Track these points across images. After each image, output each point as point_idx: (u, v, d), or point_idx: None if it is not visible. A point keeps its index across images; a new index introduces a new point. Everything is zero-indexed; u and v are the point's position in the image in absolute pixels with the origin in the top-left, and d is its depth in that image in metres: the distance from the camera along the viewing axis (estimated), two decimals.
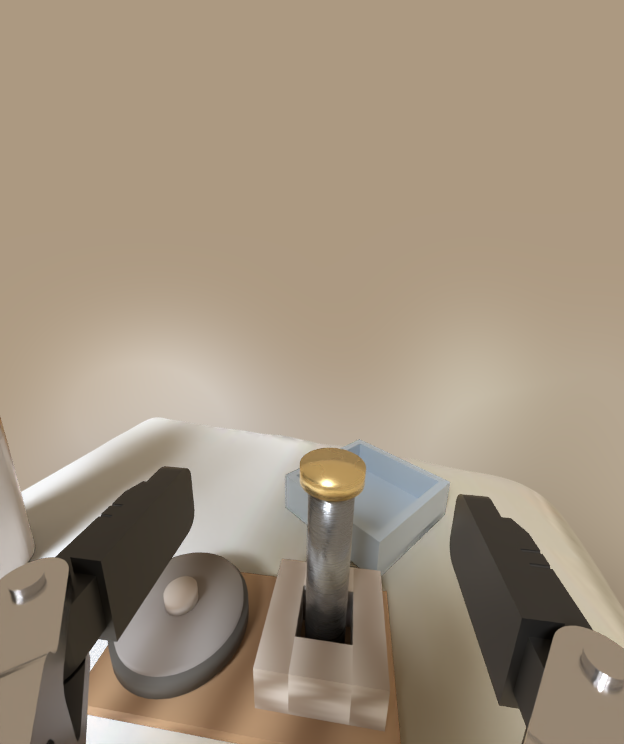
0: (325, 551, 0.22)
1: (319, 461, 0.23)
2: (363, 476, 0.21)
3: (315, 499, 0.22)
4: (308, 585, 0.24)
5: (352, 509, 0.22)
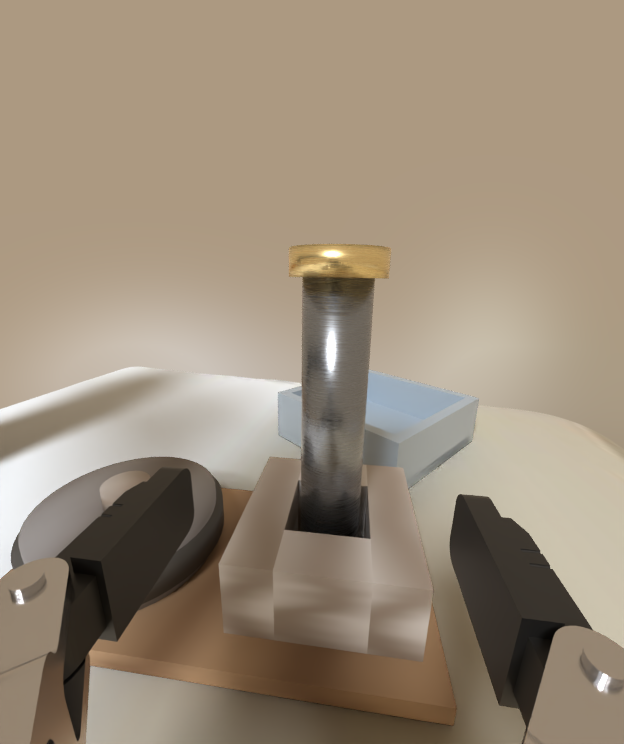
0: (329, 383, 0.15)
1: None
2: (388, 251, 0.14)
3: (313, 294, 0.14)
4: (304, 454, 0.17)
5: (370, 319, 0.15)
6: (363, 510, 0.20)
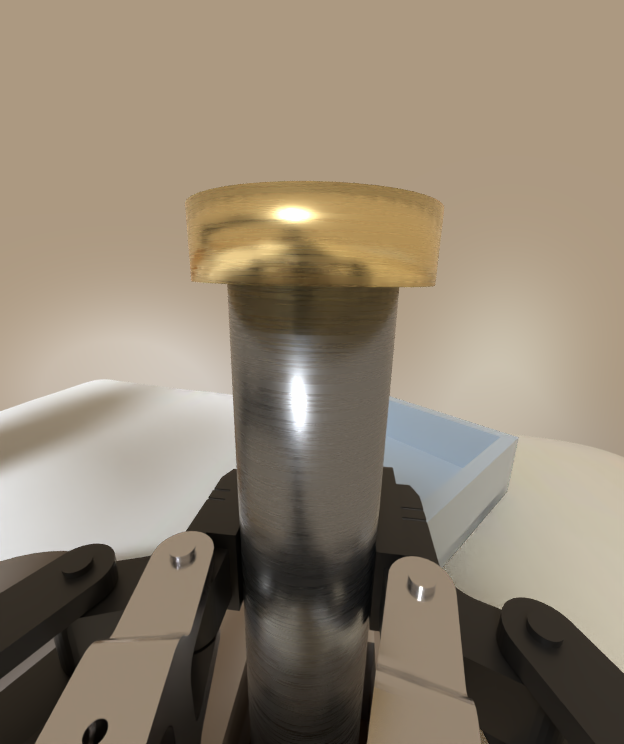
0: (290, 535, 0.06)
1: None
2: (440, 213, 0.05)
3: (245, 326, 0.05)
4: (247, 643, 0.08)
5: (387, 382, 0.06)
6: (367, 677, 0.12)
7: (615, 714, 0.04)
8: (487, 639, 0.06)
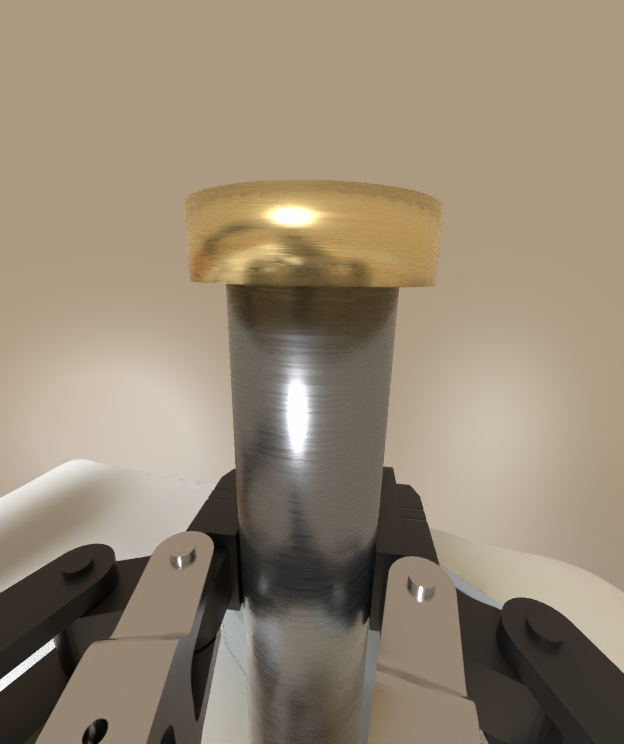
0: (289, 537, 0.06)
1: None
2: (440, 213, 0.05)
3: (245, 326, 0.05)
4: (246, 645, 0.08)
5: (387, 382, 0.06)
6: None
7: (615, 714, 0.04)
8: (487, 639, 0.06)
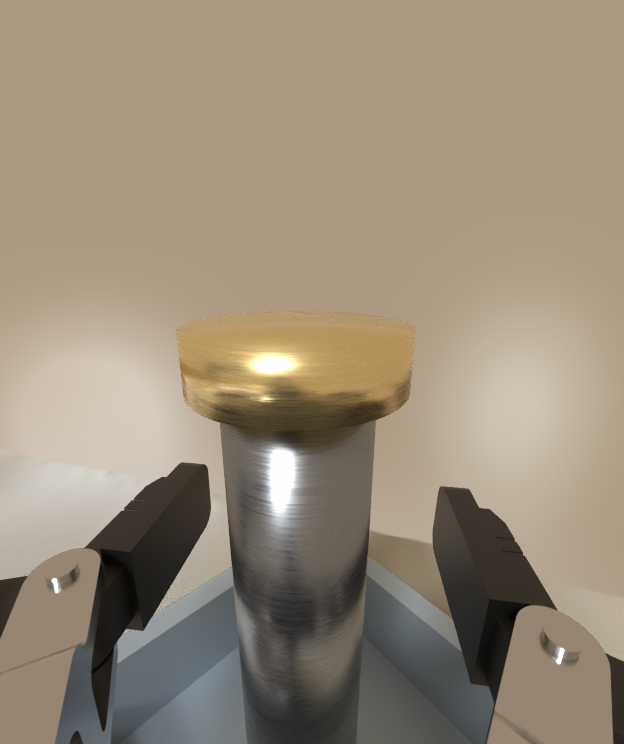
0: (280, 622, 0.07)
1: (255, 321, 0.07)
2: (410, 342, 0.05)
3: (233, 439, 0.06)
4: (244, 705, 0.09)
5: (368, 478, 0.07)
6: None
7: None
8: None
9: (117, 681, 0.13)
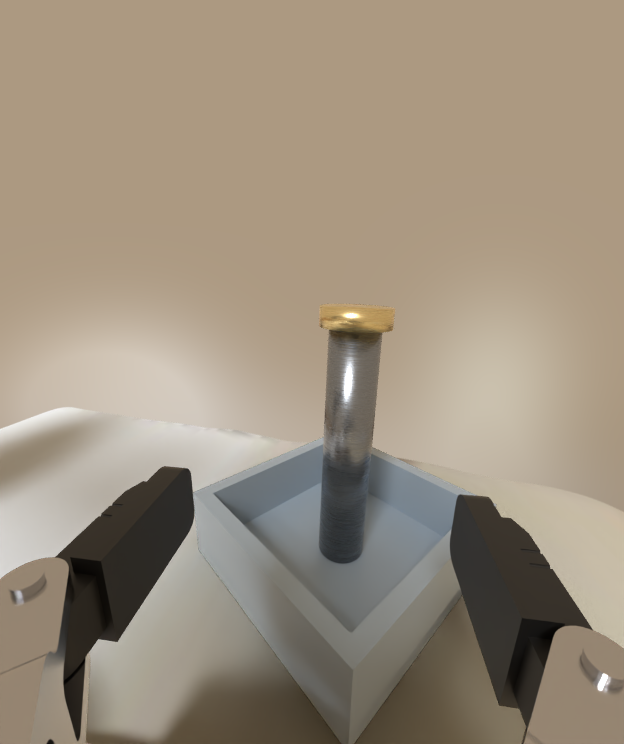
0: (348, 405, 0.20)
1: (341, 305, 0.20)
2: (393, 312, 0.19)
3: (338, 340, 0.19)
4: (326, 457, 0.22)
5: (378, 358, 0.20)
6: None
7: None
8: None
9: (247, 487, 0.26)
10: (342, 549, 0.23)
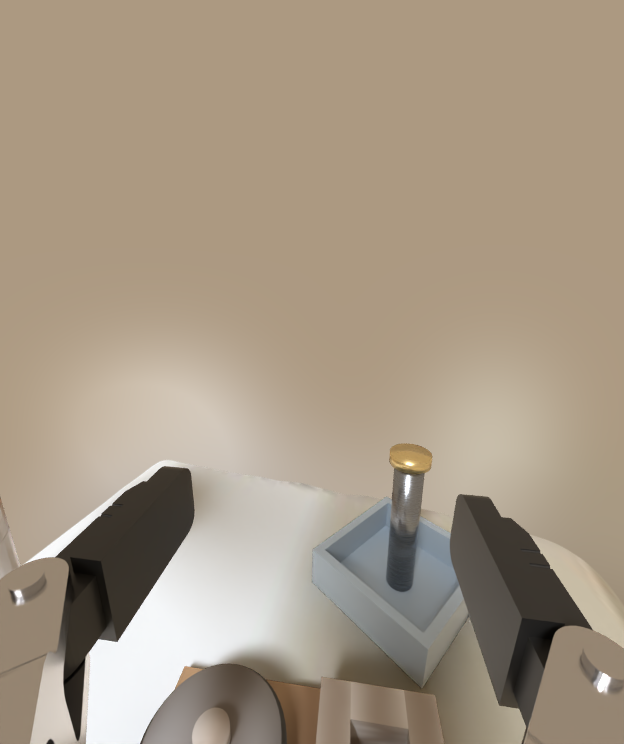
0: (407, 507, 0.36)
1: (401, 451, 0.36)
2: (431, 459, 0.35)
3: (402, 474, 0.36)
4: (393, 532, 0.38)
5: (423, 480, 0.36)
6: None
7: None
8: None
9: (340, 543, 0.42)
10: (403, 583, 0.39)
